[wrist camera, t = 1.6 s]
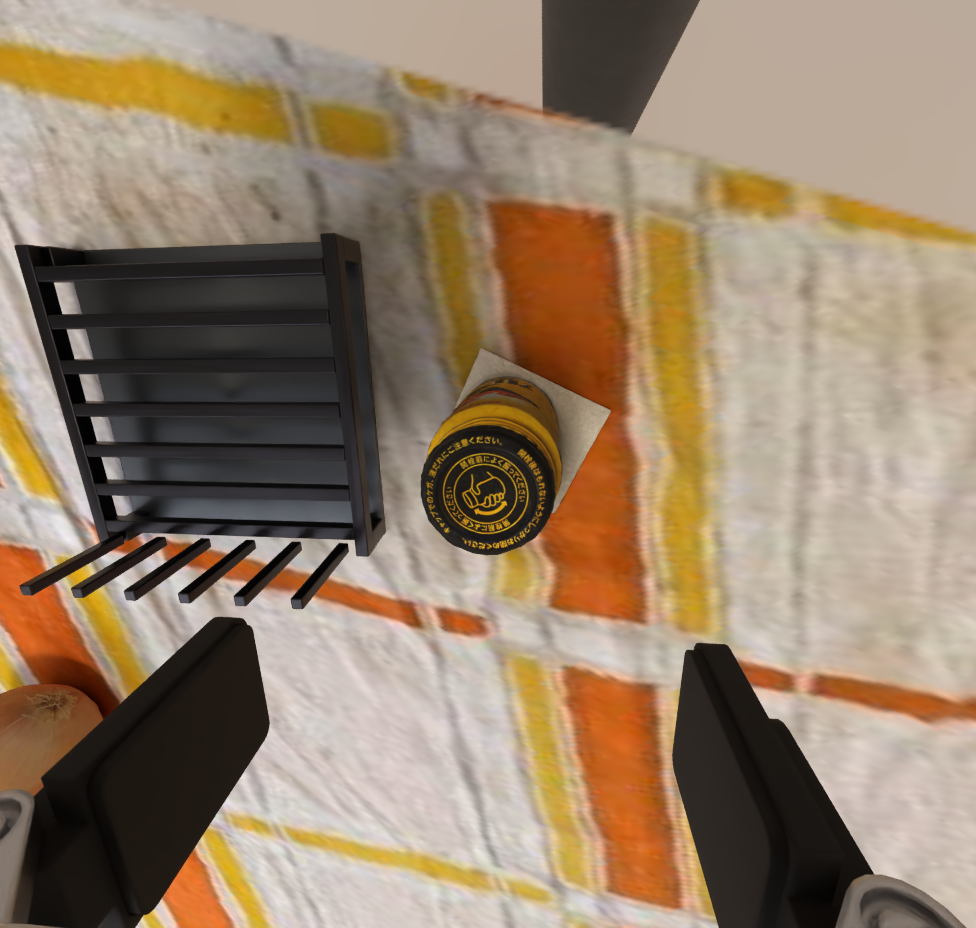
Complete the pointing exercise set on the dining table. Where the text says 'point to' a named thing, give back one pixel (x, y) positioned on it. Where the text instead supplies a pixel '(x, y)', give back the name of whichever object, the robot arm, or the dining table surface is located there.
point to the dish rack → (216, 402)
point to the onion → (40, 731)
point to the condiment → (505, 456)
